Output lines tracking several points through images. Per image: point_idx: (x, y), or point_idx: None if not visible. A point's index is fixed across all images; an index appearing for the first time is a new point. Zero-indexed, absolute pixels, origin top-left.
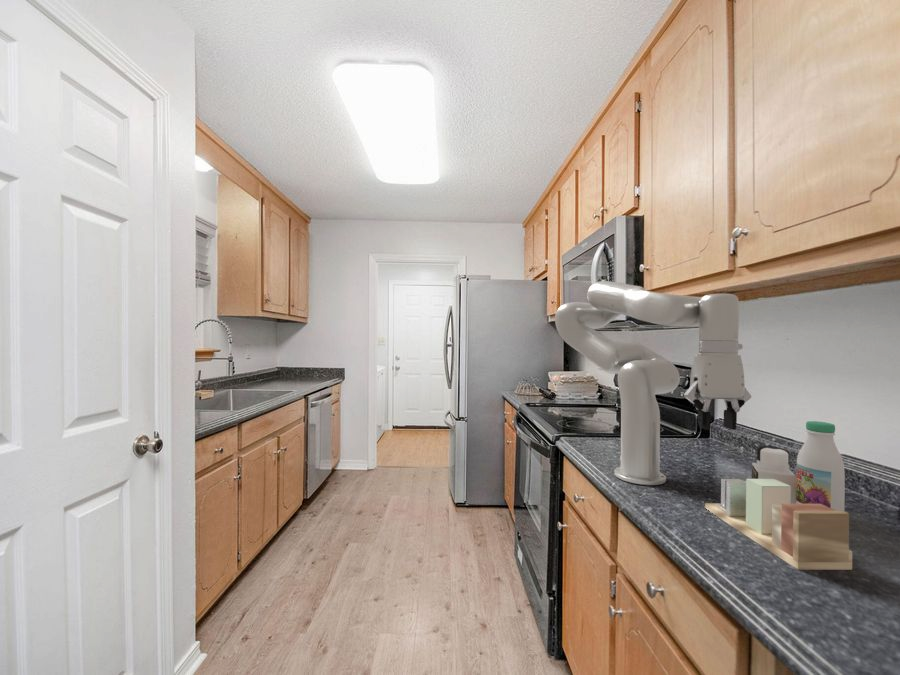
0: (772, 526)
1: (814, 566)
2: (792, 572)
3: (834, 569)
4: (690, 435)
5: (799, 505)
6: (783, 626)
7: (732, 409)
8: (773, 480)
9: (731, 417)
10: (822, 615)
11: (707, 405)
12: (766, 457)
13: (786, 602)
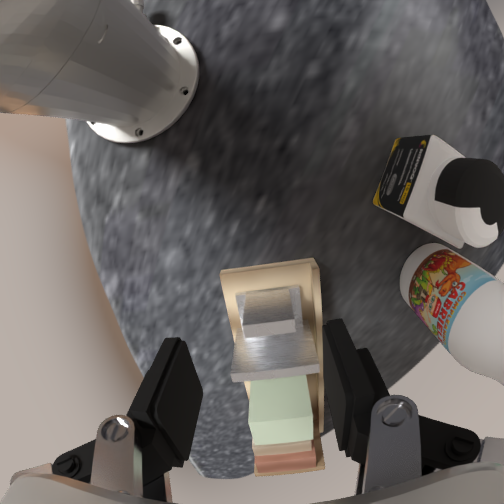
0: None
1: None
2: (247, 427)
3: None
4: None
5: (277, 464)
6: (194, 463)
7: (357, 457)
8: (303, 423)
9: (334, 424)
10: (230, 459)
11: (159, 495)
12: (448, 225)
13: (211, 452)
